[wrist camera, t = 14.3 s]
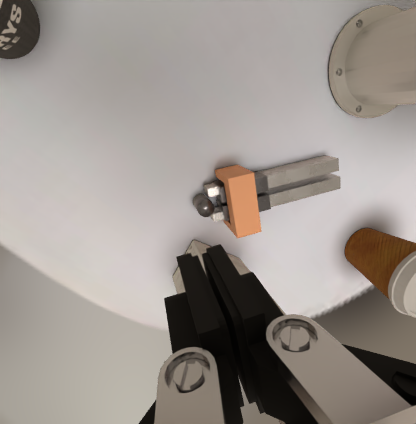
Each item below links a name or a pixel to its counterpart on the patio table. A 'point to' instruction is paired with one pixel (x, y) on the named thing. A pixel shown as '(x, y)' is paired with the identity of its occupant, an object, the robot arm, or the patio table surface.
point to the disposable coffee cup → (386, 265)
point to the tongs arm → (285, 194)
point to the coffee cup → (17, 28)
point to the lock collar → (240, 200)
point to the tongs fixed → (269, 180)
